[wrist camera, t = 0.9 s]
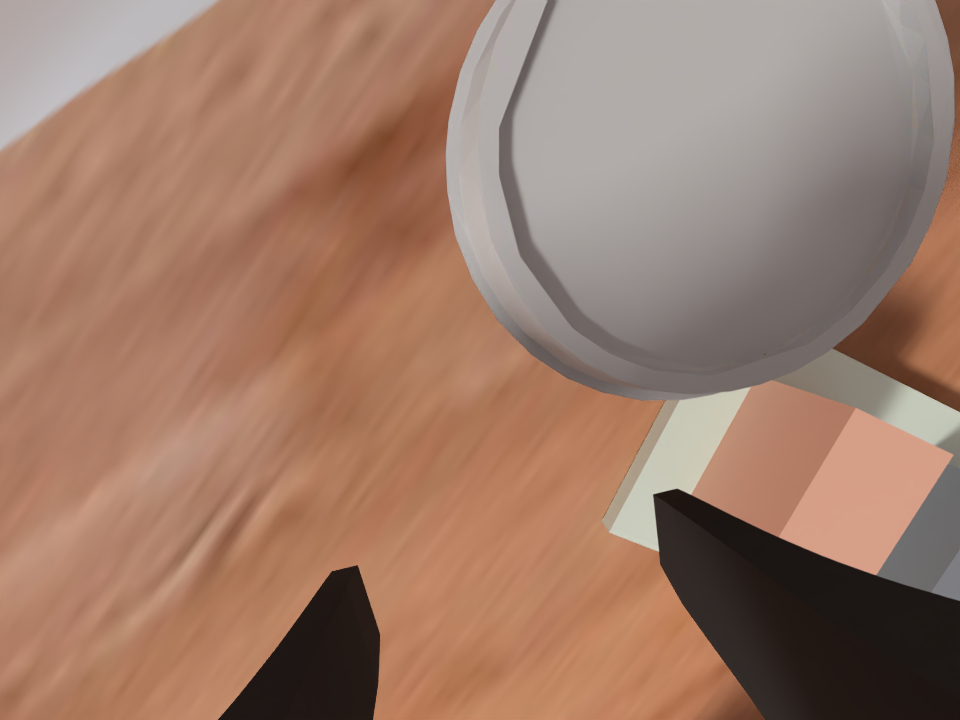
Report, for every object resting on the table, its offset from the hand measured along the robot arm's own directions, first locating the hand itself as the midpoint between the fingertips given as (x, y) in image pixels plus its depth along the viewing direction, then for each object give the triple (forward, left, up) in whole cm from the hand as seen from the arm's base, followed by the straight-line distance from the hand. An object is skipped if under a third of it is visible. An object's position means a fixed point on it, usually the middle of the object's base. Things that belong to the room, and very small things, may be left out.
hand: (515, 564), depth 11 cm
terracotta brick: (-6, -12, -9) cm, 16 cm away
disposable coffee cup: (+7, -6, -11) cm, 14 cm away
